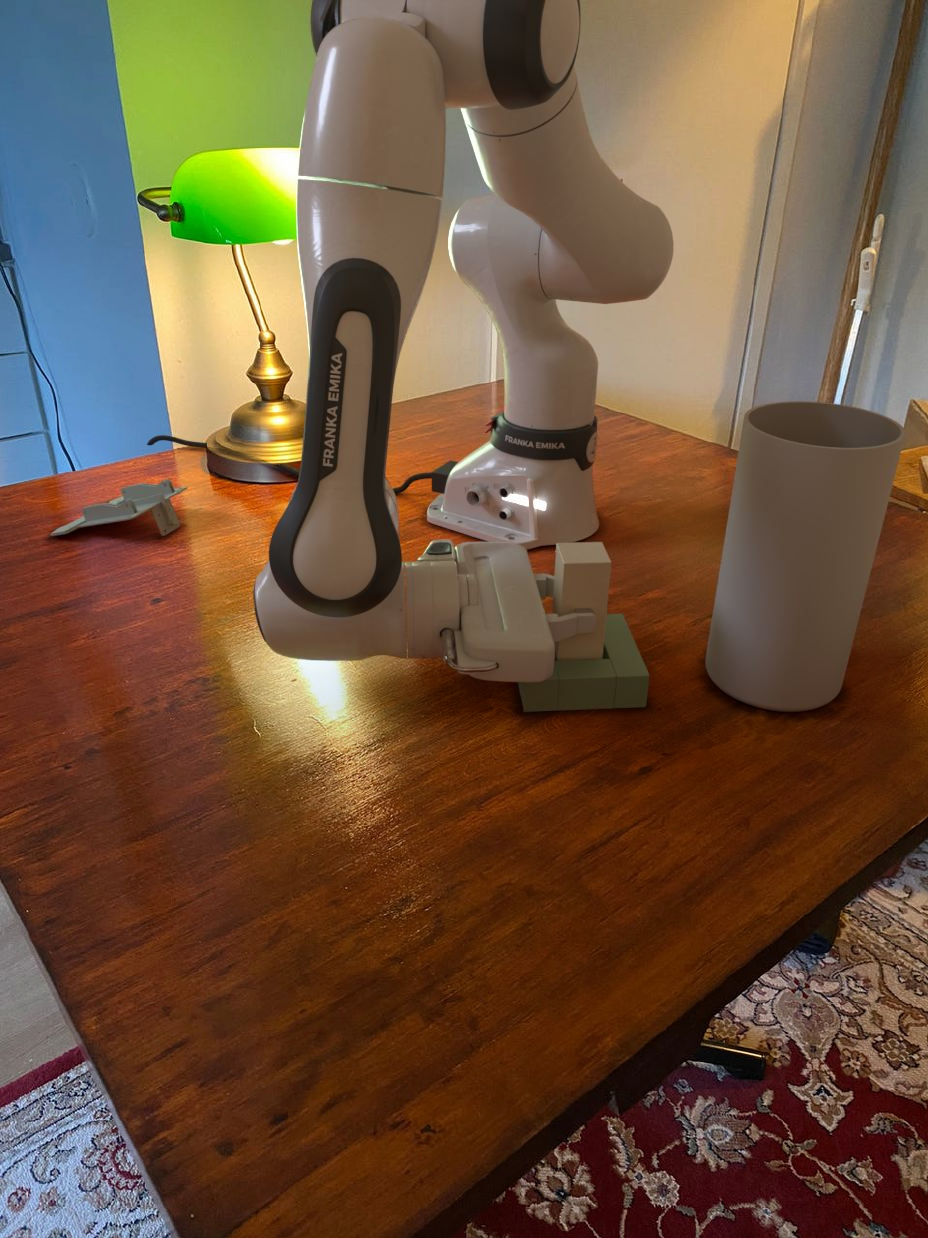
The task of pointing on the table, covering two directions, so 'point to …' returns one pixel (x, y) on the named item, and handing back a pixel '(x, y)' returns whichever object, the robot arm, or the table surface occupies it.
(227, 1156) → the table surface
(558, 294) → the robot arm
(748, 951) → the table surface
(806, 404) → the cylinder vase
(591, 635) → the beige rectangular block
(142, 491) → the metal bracket
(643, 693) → the block
